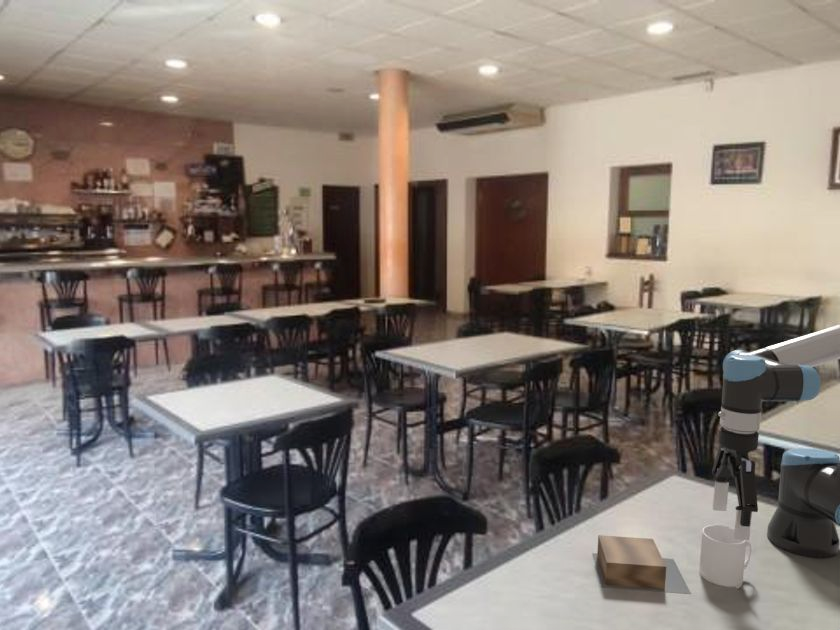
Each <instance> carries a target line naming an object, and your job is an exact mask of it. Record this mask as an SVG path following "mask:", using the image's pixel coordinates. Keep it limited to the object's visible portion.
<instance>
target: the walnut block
mask: <svg viewBox="0 0 840 630" xmlns="http://www.w3.org/2000/svg"><path fill="white" fill-rule="evenodd" d="M596 554H597V556H598V560H599V563H600V567H601V570H602V574H603V577H604V581H605V584H606V585H617V586H630V587H643V588H656V589H665V579H666V565H665V563H664V561H663V559H662V558H663V557H662V554H661V553H660V551H659V549H658V546H657V544H656V542H655V540H654V538H646V537H645V538H644V537H643V538H642V537H630V536H614V535H601V534H600V535H599V534H598V538H597V553H596Z"/></svg>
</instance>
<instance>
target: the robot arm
mask: <svg viewBox="0 0 840 630" xmlns="http://www.w3.org/2000/svg"><path fill="white" fill-rule="evenodd" d="M838 360H840V324H836V325H833V326H831V327H827V328H824V329H821V330H818V331H815V332H812V333H807V334H805V335H801V336H797V337H794V338H792V339H789V340H786V341H783V342H779V343H775V344H771V345H769V346H766V347H763V348H758V349H755V350H752V351H748V350H743V349H742V350H741V349H735V350H733V351H732V350H731V351H730V352H729V353H727V354H726V356H725V357H724V359H723V362H722V370H723V375H722V379H723V380H722V391H721V392H722V394H721V406H720V411H719V412H718V414H717V415H718V417H720V418H719V424H720V425H721V426H719V428H718V437H717V442H718V443H717V444H719V445H718V449H717V450H718V451H717V454H716V457H715V460H714V463H713V466H712V469H711V475H713V479H714V490H713V500H712V501H713V502H712V510H713V511H719V512H720V511H721V512H727V506H728V495H729V486H730V485H729V482H731V477H732V479H734V485H735V489H736V490H735V491H736V496H737V503H738V505H737V506H735V510H736V511H735V513H736V514H735V521H734V523H735V524H734V529H735V532H734V538H735V539H739V540H748V541H750V535H751V525H752V516H753V513H758V511H759V505H758V497H757V496H758V495H757V484H756V483H757V482H756V462H755V461H754V460H750V458H749V453H750V452H755V451H756V450H757V449H758V448H759V447H758V445H759V435H760V434H759V432H758V431H760V428H761V420H762V419H761V418H762V406H763V402H796V403H799V402H804V401H812V400H814V399H815V398H817V396H818V395H819V393H820V391H821V384H822V381H821V376H820V375H819V372H818V371H817V370H816V368H814V367H817V366H818V367H819V366H822V365H824V364H828V363H831V362H835V361H838ZM779 473H780V474H779V475H780V476H779V488H778V489H779V490H778V500H777V507H776V509H775V511H774V513H773V515H772V517H771V519H770V521H769V522H768V525H767V531H766V532H767V533H766V536H767V538H768V540H769V541H770V542H771V543H773V544H774V545H775V546H777V547H779V548H781V549H783V550H784V551H785V550H786V551H787V552H789V553H794V554H797V555H800V556H804V557H810V558H825V559H826V558H832V557H835V556H837V555H838V554H839V553H840V552H839V551H840V537H839V534H838V530H837V527H836V524H837V525H838V526H839V527H840V455H838V454H836V453H834V452H832V451H828V450H822V449H817V448H816V449H815V448H806V447H805V448H803V447H802V448H798V447H797V448H790V449H788V450H786V451H784V452H783V454H782V458H781V463H780V472H779ZM730 476H731V477H730Z"/></svg>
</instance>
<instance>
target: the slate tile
mask: <svg viewBox="0 0 840 630" xmlns="http://www.w3.org/2000/svg"><path fill="white" fill-rule="evenodd" d="M591 554H592V557H593V558H592V559H593V560H594V566H595V569H596V572H597V576H598V580H599V583H600V587H601V588H605V589H606V588H607V589H608V588H609V589H618V590H619V589H622V590H632V591H633V590H634V591H635V590H636V591H645V592H646V591H647V592H659V593H673V594H684V595H685V594H686V595H692V592H691V591H690V588H689V587H688V584H687V583H686V581H685V579H684V577H683V574H682V573H681V571H680V569H679V567H678V564H676V561H675V559H674V558H664V557H662V559H663V561H664V563H665V565H666V579H665V589H656V588H643V587H630V586H617V585H606V584H605V581H604V577H603V574H602V570H601V567H600V563H599V560H598V556H597V553H595V552H593V553H591Z"/></svg>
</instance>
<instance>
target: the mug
mask: <svg viewBox="0 0 840 630" xmlns="http://www.w3.org/2000/svg"><path fill="white" fill-rule="evenodd" d="M734 532H735V528H734V527H733V528H732V527H730V526H725V525H719V524H718V525H717V524H710V525H707V526H704V527H703V528H702V530H701V540H700V541H701V544H700V554H699V555H700V557H699V570H698V571H699V575H700V576H701V577H702V578H703V579H704V580H706V581H707V582H709V583H711V584H715V585H718V586H721V587H727V588H729V587H732V588H733V587H735V589H736V590H738V589H740V588H741V587H742V585H743V583H744V582H743V581H744V573H745V572H744V570H745V569H746V568H747V567H748V565H749V563H750V560H751V556H752V545H751V543H750V540H739V539H735V538H734ZM746 549H748V556H747V557H746V551H747V550H746Z"/></svg>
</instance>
